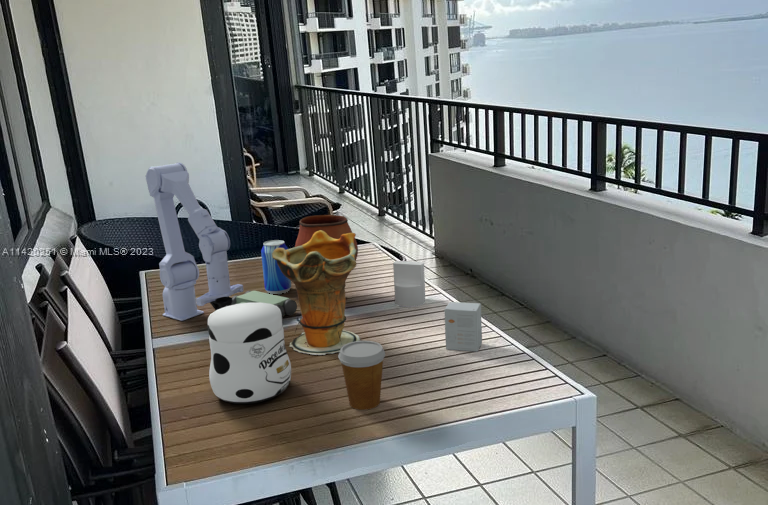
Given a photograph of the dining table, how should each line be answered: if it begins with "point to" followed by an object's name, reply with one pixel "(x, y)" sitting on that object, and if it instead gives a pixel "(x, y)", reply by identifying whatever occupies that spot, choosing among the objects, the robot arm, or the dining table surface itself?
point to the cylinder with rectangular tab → (409, 283)
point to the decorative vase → (320, 290)
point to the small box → (463, 326)
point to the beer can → (273, 269)
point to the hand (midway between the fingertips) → (223, 323)
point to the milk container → (248, 353)
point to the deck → (267, 301)
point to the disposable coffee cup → (362, 373)
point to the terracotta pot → (323, 228)
